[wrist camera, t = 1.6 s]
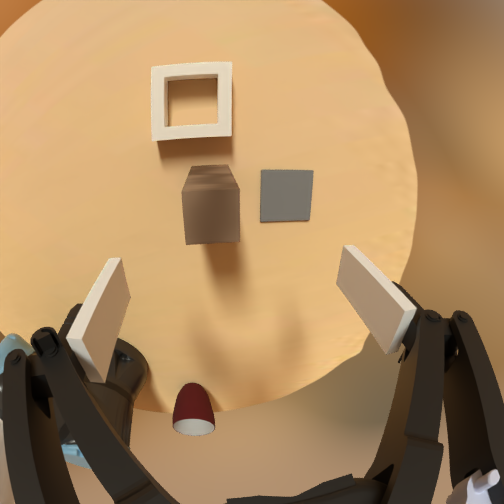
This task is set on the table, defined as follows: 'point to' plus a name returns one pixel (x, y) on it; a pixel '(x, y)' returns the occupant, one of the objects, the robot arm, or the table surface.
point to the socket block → (184, 72)
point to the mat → (286, 195)
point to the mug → (193, 411)
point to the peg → (211, 205)
